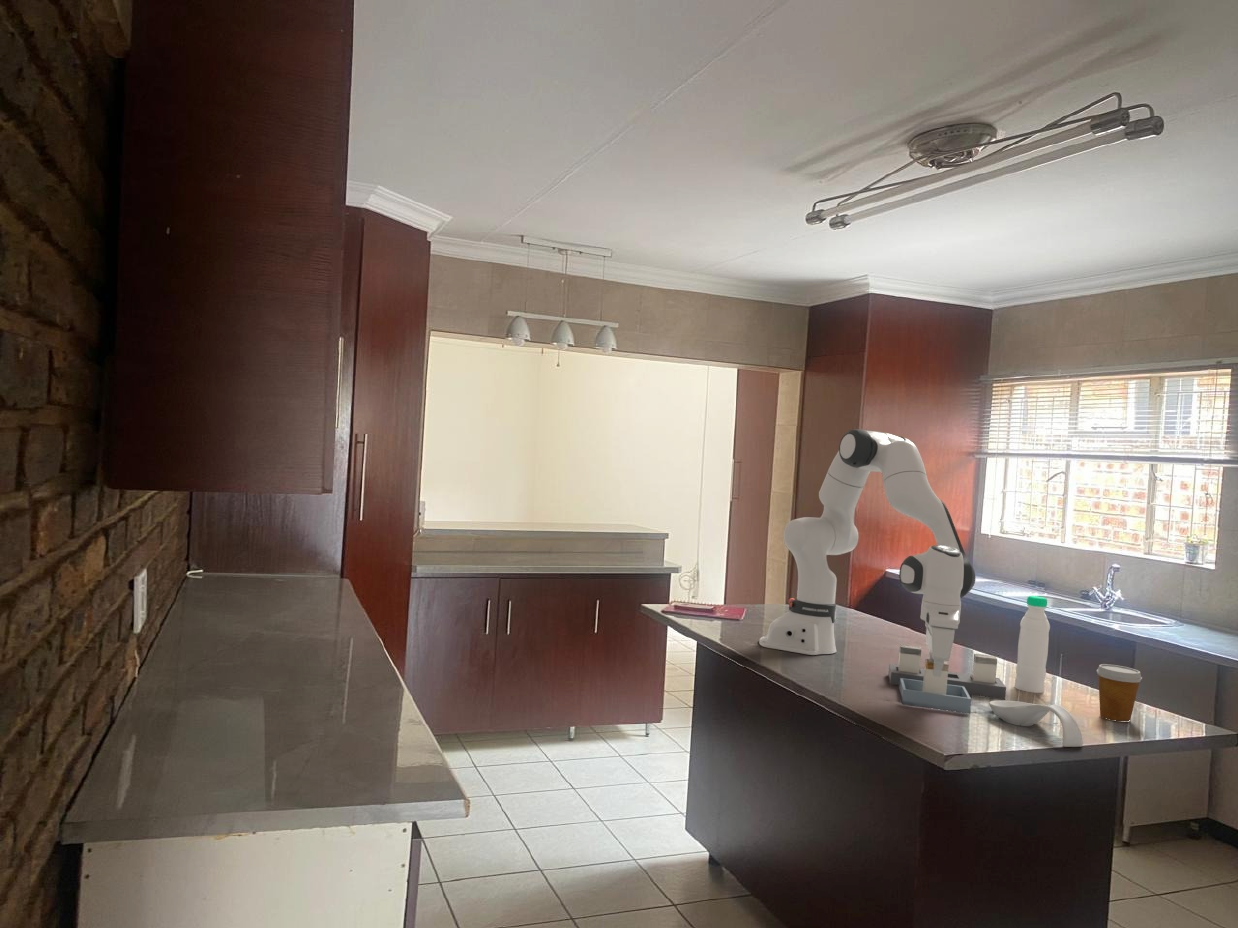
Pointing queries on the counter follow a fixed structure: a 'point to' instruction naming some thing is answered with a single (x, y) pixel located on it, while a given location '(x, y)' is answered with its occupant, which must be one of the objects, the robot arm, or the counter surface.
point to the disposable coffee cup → (1117, 691)
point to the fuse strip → (954, 682)
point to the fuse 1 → (909, 658)
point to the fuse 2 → (984, 668)
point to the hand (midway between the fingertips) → (934, 671)
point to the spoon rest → (1038, 718)
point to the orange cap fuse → (934, 678)
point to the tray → (934, 697)
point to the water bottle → (1033, 647)
